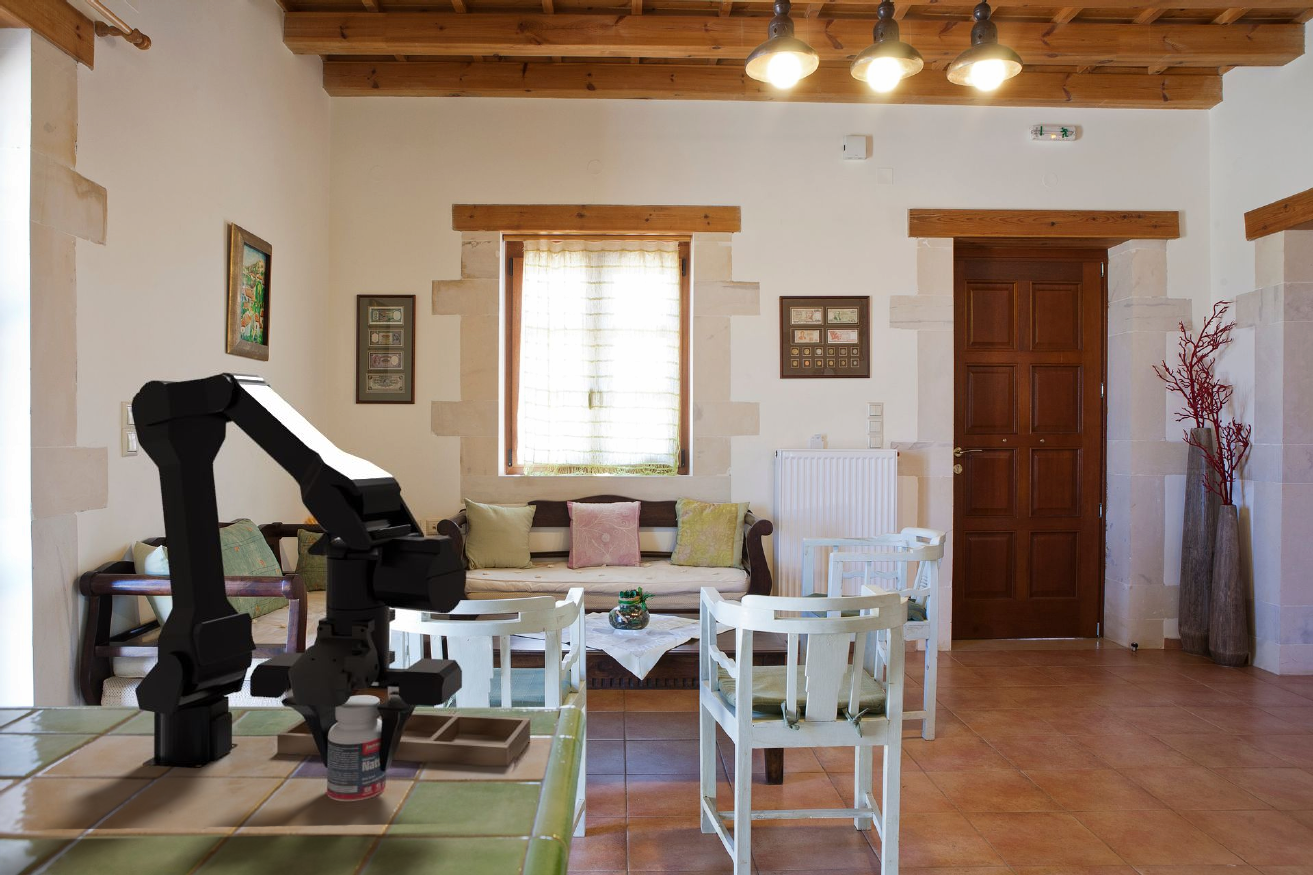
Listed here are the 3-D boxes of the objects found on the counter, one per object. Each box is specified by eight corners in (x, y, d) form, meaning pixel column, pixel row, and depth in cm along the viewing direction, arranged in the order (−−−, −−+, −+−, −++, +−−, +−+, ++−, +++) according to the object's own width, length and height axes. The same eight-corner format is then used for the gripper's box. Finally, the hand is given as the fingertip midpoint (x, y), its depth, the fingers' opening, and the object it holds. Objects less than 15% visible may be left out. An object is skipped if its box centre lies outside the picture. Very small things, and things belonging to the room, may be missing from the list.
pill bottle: (367, 809, 76) (367, 712, 76) (315, 803, 78) (316, 708, 77) (396, 785, 82) (396, 694, 82) (347, 780, 83) (348, 690, 83)
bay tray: (277, 757, 88) (277, 734, 88) (320, 729, 97) (320, 707, 97) (506, 771, 85) (507, 747, 85) (530, 740, 94) (530, 718, 94)
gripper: (211, 619, 73) (211, 798, 73) (417, 627, 70) (416, 812, 70) (284, 594, 84) (283, 750, 84) (464, 600, 81) (463, 761, 81)
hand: (357, 767), depth 80 cm, fingers closed on pill bottle, 5 cm apart
